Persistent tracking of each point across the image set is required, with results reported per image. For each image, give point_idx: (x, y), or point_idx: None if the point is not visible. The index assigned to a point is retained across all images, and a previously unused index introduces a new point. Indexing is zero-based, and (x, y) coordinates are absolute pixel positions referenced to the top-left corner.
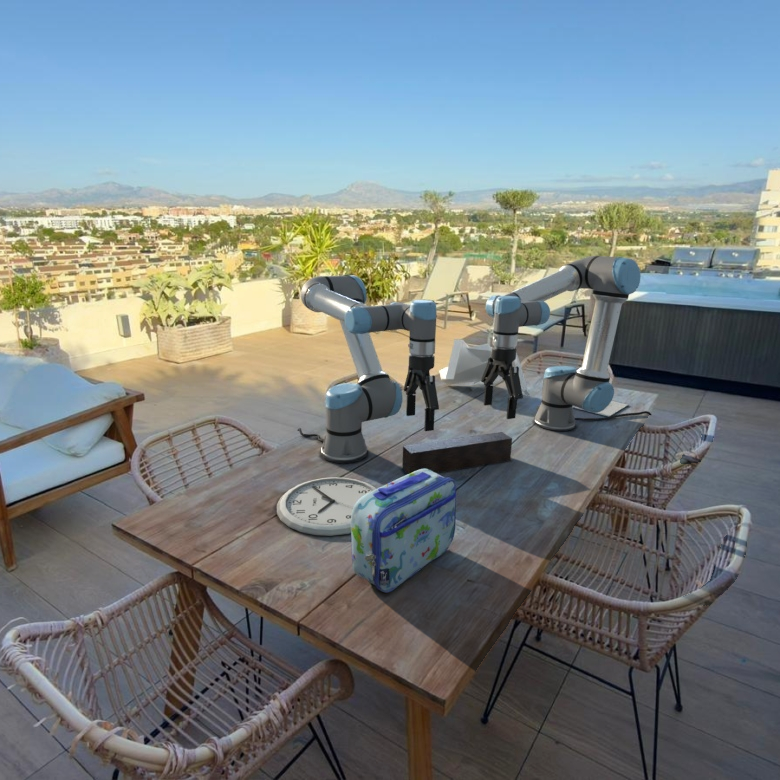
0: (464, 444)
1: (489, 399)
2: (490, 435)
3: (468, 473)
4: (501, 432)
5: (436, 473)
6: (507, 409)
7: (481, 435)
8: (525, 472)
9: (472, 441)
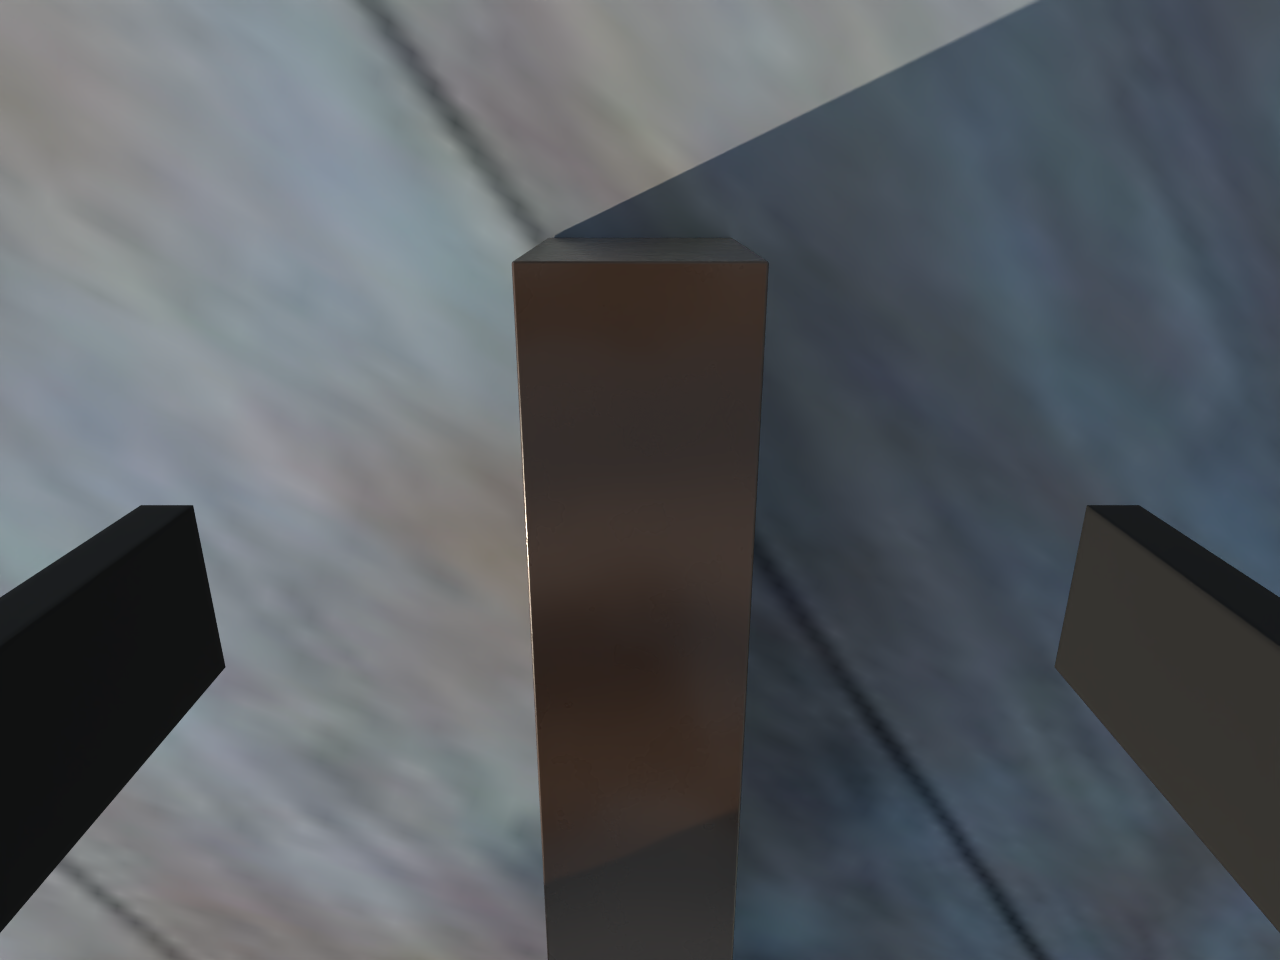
0: (717, 845)
1: (132, 646)
2: (583, 481)
3: (804, 698)
4: (531, 284)
5: None
6: (1177, 802)
7: (549, 580)
8: (1004, 244)
9: (677, 747)
